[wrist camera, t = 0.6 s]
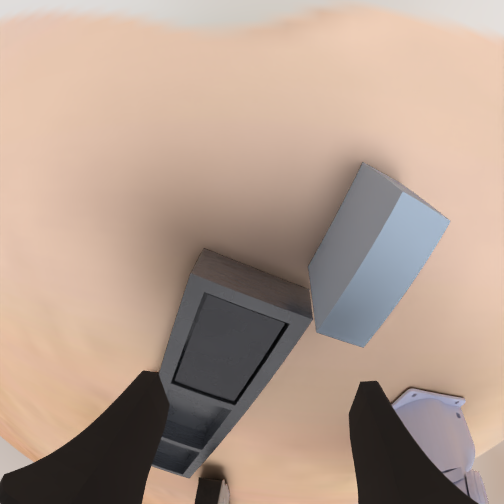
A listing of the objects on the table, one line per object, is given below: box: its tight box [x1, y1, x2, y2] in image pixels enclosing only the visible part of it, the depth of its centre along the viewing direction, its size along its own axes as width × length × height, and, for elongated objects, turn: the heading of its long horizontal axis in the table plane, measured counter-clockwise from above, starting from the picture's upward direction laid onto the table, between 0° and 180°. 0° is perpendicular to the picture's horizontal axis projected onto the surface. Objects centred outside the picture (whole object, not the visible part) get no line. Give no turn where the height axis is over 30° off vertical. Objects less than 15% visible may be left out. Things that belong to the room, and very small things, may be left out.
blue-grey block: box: [308, 162, 450, 347], centre depth 14 cm, size 3×7×6 cm, turn 158°
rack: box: [151, 248, 313, 478], centre depth 24 cm, size 8×30×3 cm, turn 158°
